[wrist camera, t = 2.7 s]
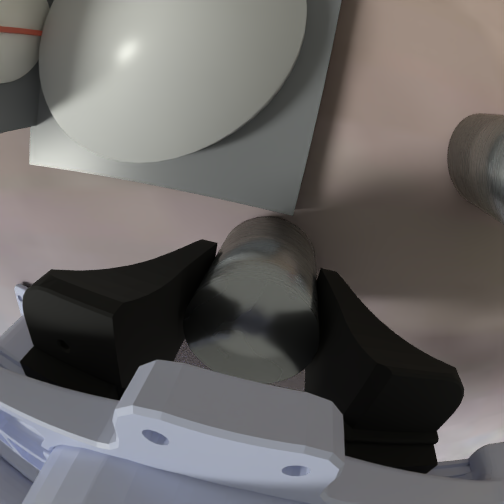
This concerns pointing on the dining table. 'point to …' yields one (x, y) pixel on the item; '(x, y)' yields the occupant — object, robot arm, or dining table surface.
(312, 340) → the cylinder
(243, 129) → the scale
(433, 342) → the dining table surface
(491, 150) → the cylinder
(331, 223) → the dining table surface
